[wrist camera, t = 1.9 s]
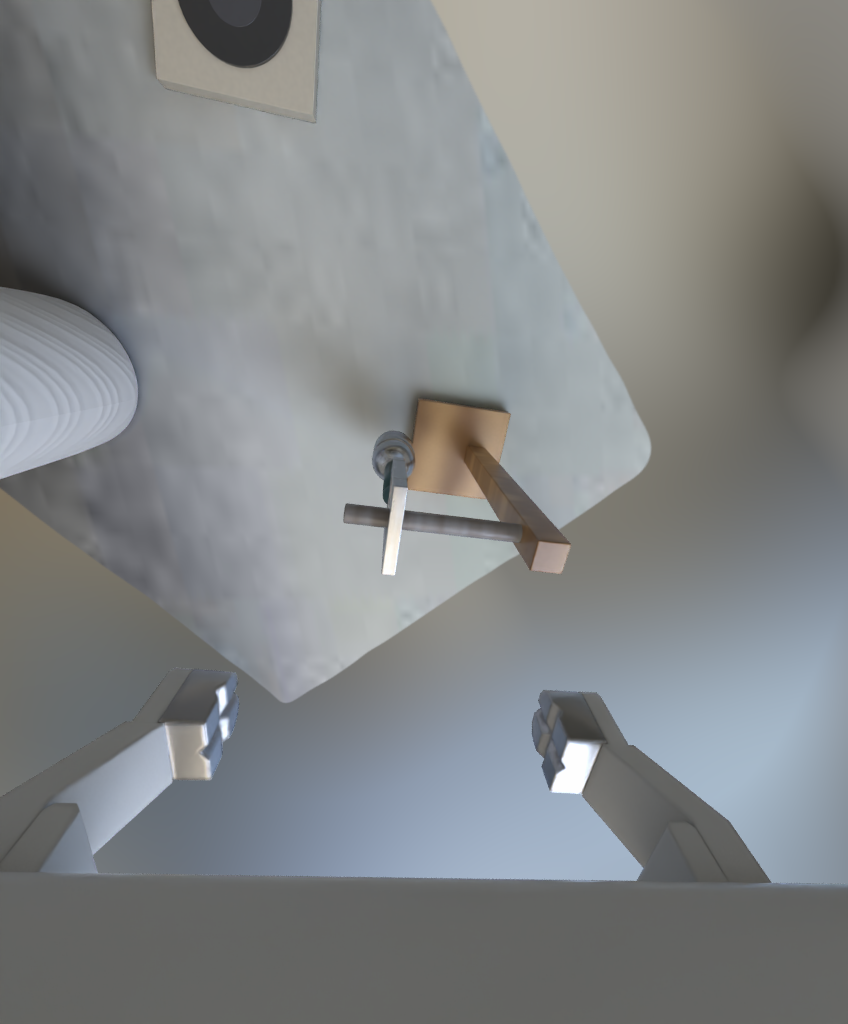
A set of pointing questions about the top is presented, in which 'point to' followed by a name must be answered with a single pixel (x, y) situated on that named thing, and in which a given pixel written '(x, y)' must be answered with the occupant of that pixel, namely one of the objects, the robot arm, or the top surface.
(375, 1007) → the robot arm
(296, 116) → the hot plate
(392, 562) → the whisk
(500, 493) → the hook stand
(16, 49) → the top surface
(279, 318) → the top surface
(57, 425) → the vase
